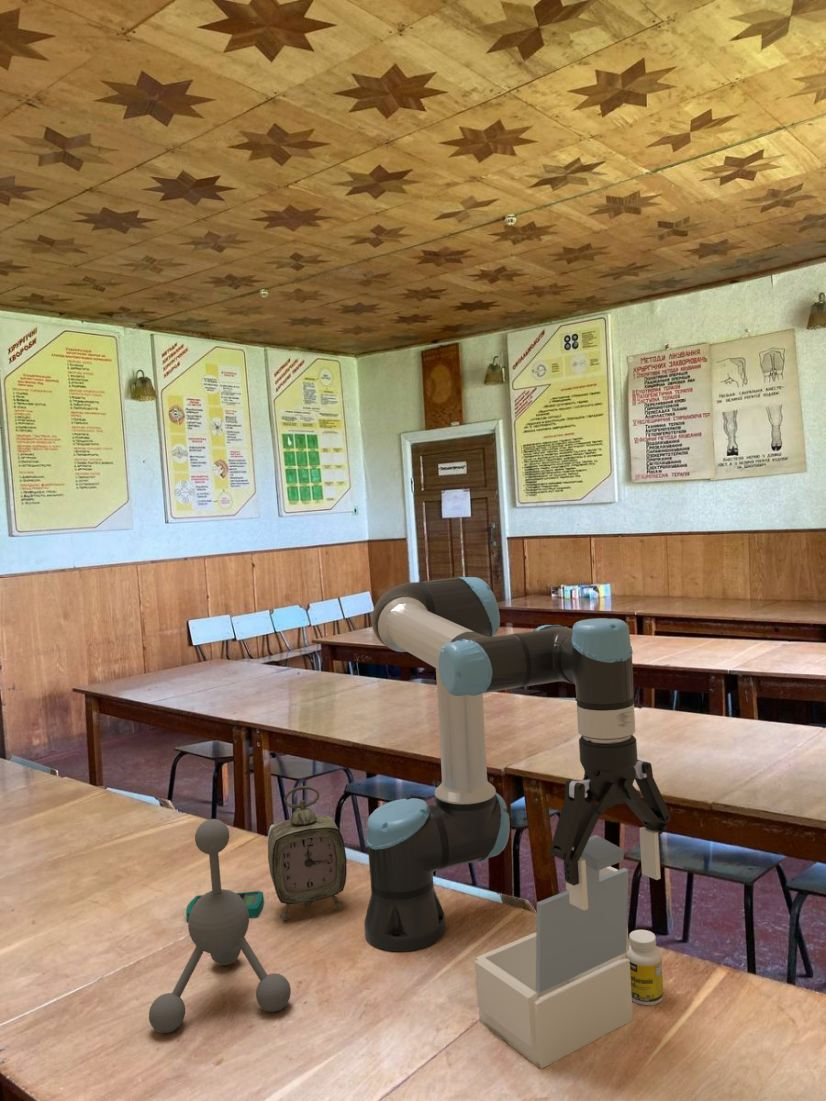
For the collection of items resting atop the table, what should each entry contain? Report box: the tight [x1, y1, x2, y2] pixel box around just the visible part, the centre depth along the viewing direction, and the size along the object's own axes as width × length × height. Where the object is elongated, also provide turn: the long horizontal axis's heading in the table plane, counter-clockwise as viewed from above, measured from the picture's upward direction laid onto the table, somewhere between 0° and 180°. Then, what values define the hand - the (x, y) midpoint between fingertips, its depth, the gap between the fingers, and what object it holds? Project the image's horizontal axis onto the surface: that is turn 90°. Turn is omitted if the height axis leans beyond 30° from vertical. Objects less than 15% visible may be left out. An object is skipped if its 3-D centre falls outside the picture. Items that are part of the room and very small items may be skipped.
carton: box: [474, 866, 634, 1070], centre depth 129 cm, size 14×20×22 cm
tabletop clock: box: [267, 785, 348, 921], centre depth 171 cm, size 14×9×25 cm, turn 106°
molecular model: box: [148, 818, 292, 1034], centre depth 139 cm, size 24×22×30 cm
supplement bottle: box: [625, 929, 664, 1006], centre depth 134 cm, size 5×5×10 cm
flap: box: [535, 834, 630, 993], centre depth 120 cm, size 20×17×5 cm
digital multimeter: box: [185, 890, 265, 923], centre depth 173 cm, size 7×15×3 cm, turn 90°
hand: (616, 890), depth 116 cm, fingers open, 13 cm apart
